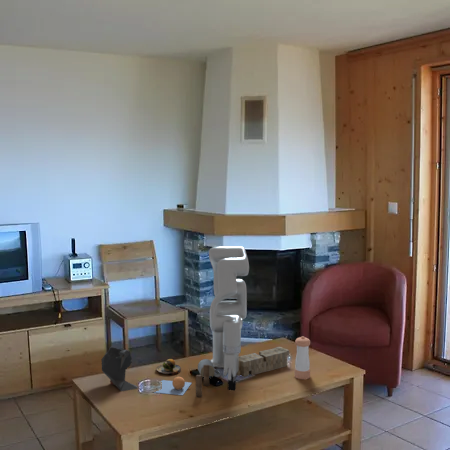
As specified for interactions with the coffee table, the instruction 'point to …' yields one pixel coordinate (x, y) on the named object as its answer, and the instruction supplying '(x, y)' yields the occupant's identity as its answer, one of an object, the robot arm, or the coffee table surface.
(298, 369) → the salt shaker
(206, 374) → the post
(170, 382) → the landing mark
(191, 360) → the coffee table surface
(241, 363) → the block tower
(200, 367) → the ceramic mug
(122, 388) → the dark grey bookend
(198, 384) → the post
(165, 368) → the fruit plate
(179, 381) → the ball
